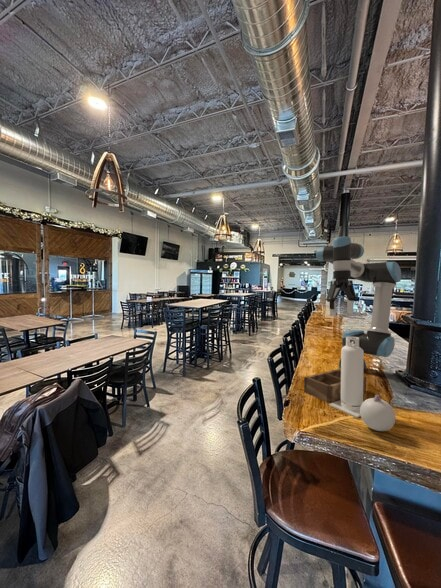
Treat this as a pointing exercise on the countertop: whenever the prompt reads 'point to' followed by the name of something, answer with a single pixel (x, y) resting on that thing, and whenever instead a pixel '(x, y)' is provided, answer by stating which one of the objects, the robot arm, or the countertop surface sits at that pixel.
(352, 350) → the bottle
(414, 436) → the countertop surface
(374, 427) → the ornament
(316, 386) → the carrier
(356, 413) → the coaster
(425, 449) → the countertop surface
